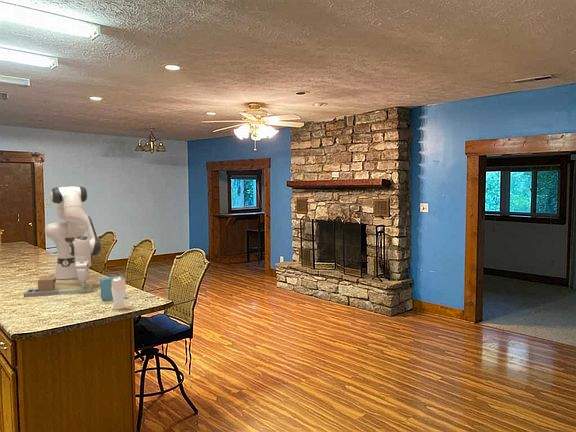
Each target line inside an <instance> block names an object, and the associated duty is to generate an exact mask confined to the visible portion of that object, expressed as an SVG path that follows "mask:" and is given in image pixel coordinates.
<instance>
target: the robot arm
mask: <svg viewBox="0 0 576 432" xmlns="http://www.w3.org/2000/svg"><path fill="white" fill-rule="evenodd" d="M88 196H89V195H88V191H87V188H86V187H84V186H73V185H72V186H70V185H69V186H61V187H58V186H57V187H53V188H52V189H51V190H50V193H49V198H50V200H51V202H52V203H54V204H56V205H57V207H56V210H57V211H56V214H57V218H59V219H60V220H62V221H61V222H60V221H59V222H51V223H48V224H46V225H45V227H44V235H45V236H46V237H47V238H48V239H50V240H51V241H53V243H54V244H55V246H56V249H57V250H56V251H57V259H56V261H57V262H56V263H57V264H56V265H55V266H54V275H53V276H52V277H56V280H71V279H77V281H81V286H82V287H85V285H87V278H88V277H89V269H90V267H91V266H92V257H91V256H94V257H95V256H98V255H99V253H100V252H101V251H102V245H101V243H100V240H99V238H98V235H97V233H96V229H95V226H94V223H93V220H92V219H91V217H90V216H89V215H87V214H86V212H85V210H84V206H83V205H84V204H83V203H84V202H86V201H87V199H88ZM85 233H87V236H84V235H85ZM68 238H70V239H71V238H74V240H73V241H71V242H68V241H66V239H68Z"/></svg>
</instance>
